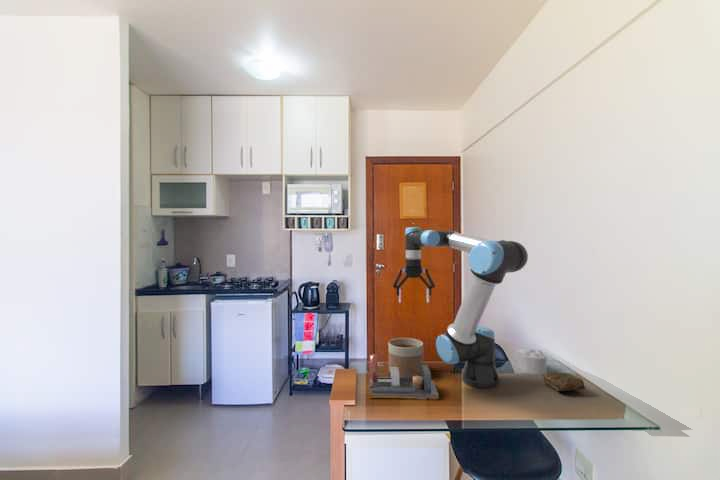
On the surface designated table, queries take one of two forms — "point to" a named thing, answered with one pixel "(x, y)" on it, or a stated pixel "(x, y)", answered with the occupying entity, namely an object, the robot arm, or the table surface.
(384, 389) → the press bed
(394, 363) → the planter
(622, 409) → the table surface
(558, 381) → the stone
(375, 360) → the press handle
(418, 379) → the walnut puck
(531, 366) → the lumpy-topped squat cylinder
